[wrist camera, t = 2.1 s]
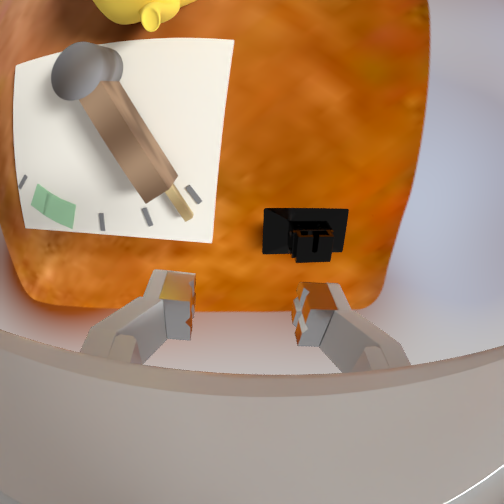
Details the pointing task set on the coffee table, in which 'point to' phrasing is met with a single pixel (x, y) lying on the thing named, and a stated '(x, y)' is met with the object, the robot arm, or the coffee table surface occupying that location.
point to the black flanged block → (304, 232)
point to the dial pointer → (116, 119)
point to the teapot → (141, 11)
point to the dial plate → (100, 157)
